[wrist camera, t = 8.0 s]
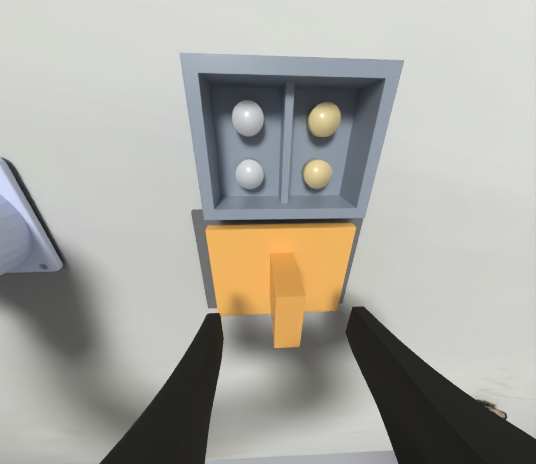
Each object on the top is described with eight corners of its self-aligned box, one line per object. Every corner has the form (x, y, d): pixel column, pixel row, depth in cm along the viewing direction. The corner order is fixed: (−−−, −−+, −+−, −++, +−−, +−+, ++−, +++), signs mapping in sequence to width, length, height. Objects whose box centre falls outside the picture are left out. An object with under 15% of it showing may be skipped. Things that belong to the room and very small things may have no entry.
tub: (214, 202, 13) (204, 220, 11) (199, 73, 10) (179, 52, 8) (343, 201, 14) (364, 217, 11) (367, 77, 11) (404, 60, 8)
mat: (209, 304, 18) (208, 308, 17) (192, 209, 14) (191, 211, 13) (340, 299, 18) (342, 303, 18) (362, 208, 14) (365, 209, 14)
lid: (221, 301, 17) (207, 370, 12) (210, 220, 14) (185, 270, 9) (330, 297, 18) (360, 361, 13) (346, 218, 14) (395, 263, 9)
